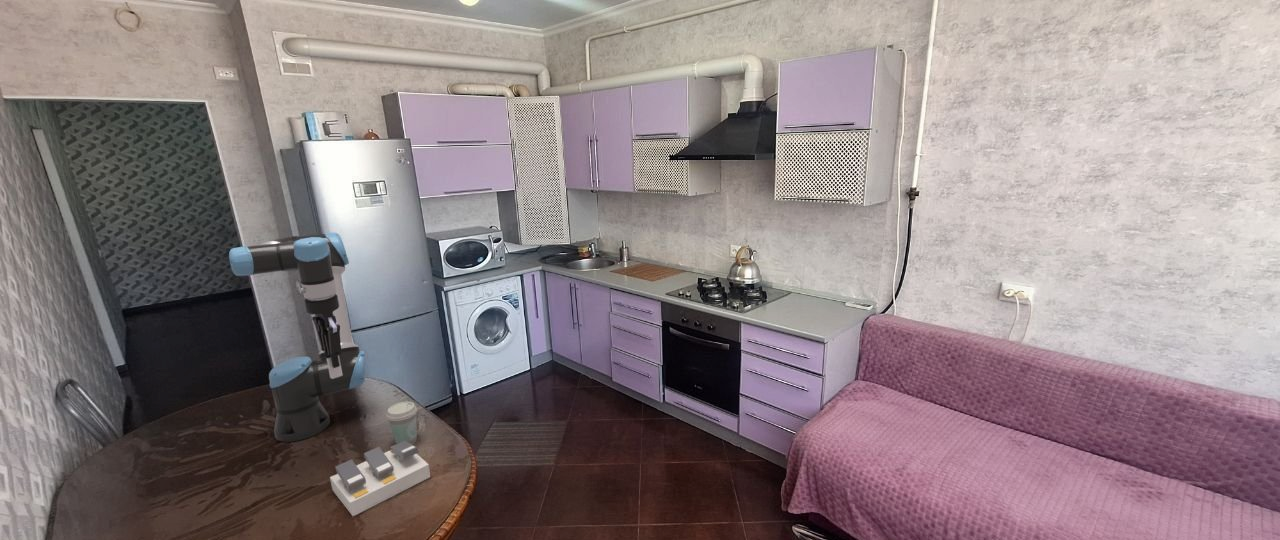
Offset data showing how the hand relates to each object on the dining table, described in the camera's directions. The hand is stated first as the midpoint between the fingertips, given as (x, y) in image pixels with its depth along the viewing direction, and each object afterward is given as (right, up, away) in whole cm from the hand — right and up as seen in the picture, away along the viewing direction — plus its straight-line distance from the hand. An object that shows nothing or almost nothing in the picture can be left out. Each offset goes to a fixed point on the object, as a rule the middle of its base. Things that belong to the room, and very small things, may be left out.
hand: (336, 376), depth 141 cm
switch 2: (+14, -23, -4) cm, 27 cm away
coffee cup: (+12, -24, +16) cm, 31 cm away
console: (+14, -29, -3) cm, 32 cm away
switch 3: (+19, -21, +1) cm, 28 cm away
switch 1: (+9, -24, -9) cm, 28 cm away
